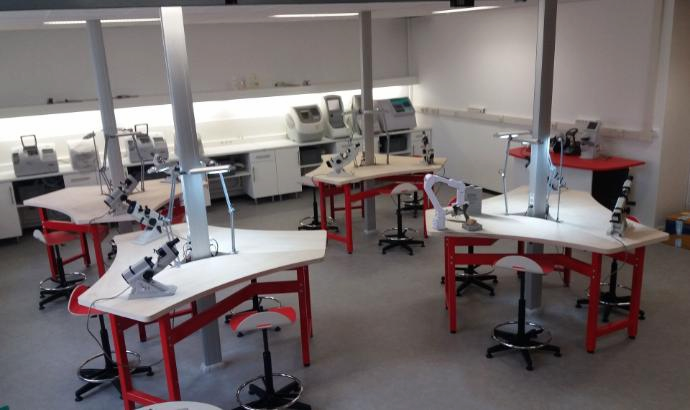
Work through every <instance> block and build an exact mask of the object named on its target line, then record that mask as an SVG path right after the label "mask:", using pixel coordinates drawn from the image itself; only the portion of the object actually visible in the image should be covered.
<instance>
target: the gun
mask: <svg viewBox="0 0 690 410" xmlns="http://www.w3.org/2000/svg"><path fill="white" fill-rule="evenodd" d="M461 206H462V205H458V206H457V207H458V210H457V215H455V212H454V209H453V208H450V209H448V208H446V209H445V211H446V216H447V215H451V217H452V218H453V217H454V218H455V220H459V217H461V216H462V215H463V216H464V218H465V223H467V220H468V219H471V217H470V214H468V213H467V212H466V213H465V214H464V213H463V209H461ZM436 215H437V214H436V213H435V217H436ZM435 217H434V218H435Z"/></svg>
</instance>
